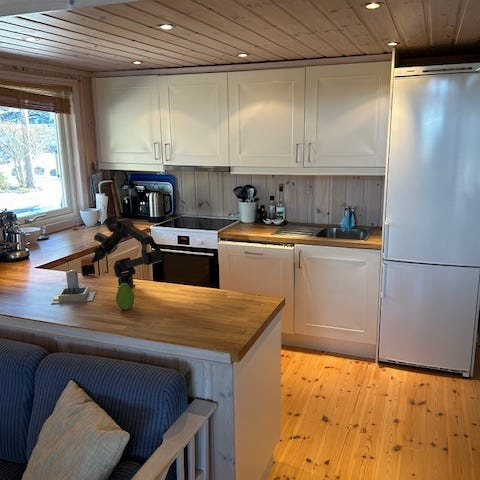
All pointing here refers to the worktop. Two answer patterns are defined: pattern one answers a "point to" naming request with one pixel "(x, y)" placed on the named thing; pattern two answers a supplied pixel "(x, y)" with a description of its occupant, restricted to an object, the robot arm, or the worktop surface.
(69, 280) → the big cell
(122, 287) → the avocado
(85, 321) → the worktop surface
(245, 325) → the worktop surface
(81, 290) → the tray
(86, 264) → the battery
